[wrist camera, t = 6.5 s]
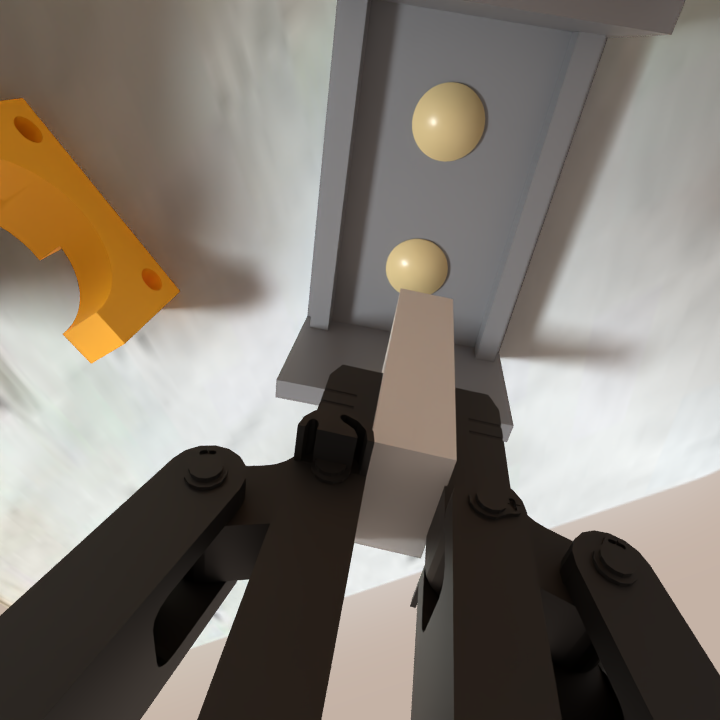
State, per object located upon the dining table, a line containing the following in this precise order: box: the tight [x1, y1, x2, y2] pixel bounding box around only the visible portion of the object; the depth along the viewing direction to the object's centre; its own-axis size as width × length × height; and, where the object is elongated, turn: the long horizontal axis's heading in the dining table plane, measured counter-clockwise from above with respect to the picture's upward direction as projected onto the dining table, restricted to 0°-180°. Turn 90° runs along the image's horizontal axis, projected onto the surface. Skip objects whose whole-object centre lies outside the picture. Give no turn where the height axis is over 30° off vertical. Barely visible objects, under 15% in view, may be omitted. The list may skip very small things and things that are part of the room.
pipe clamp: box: [0, 98, 180, 363], centre depth 26 cm, size 12×4×6 cm, turn 32°
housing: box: [276, 0, 685, 442], centre depth 22 cm, size 11×17×8 cm, turn 172°
